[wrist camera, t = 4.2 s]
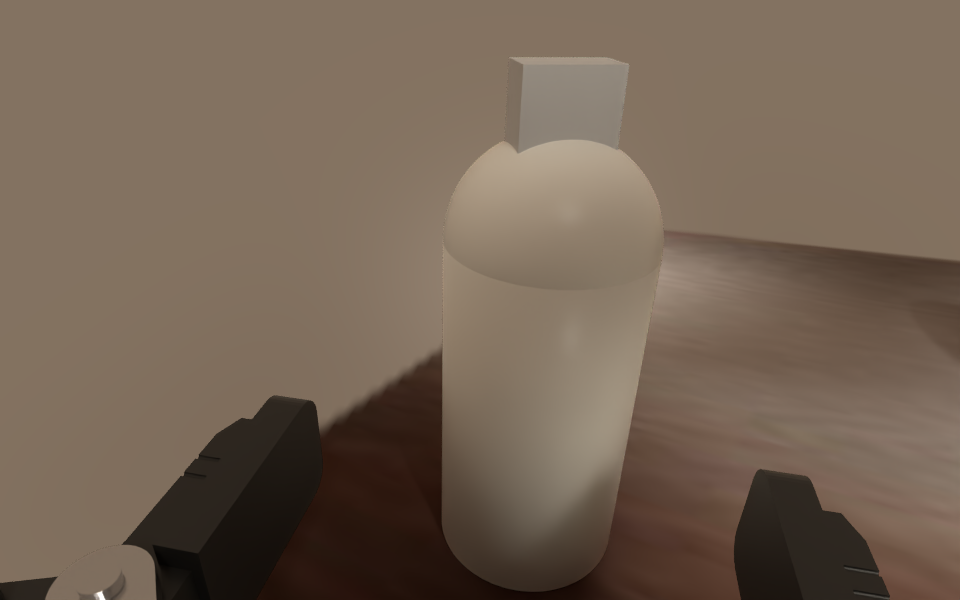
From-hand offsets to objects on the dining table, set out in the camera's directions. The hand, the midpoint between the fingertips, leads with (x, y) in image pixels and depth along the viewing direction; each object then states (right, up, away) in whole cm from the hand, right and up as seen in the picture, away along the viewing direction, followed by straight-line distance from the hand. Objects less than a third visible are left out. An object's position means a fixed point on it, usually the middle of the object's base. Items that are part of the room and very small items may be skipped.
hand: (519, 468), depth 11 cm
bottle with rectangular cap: (+1, -3, +7) cm, 8 cm away
